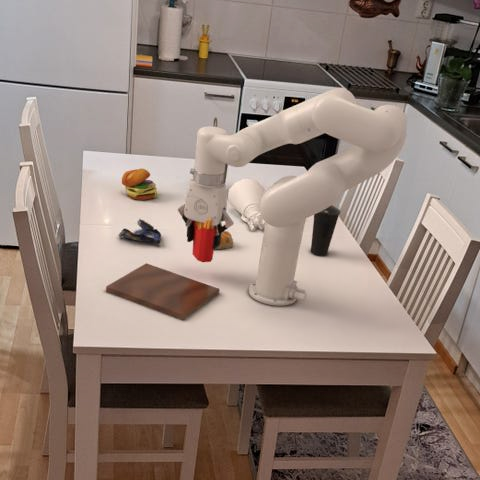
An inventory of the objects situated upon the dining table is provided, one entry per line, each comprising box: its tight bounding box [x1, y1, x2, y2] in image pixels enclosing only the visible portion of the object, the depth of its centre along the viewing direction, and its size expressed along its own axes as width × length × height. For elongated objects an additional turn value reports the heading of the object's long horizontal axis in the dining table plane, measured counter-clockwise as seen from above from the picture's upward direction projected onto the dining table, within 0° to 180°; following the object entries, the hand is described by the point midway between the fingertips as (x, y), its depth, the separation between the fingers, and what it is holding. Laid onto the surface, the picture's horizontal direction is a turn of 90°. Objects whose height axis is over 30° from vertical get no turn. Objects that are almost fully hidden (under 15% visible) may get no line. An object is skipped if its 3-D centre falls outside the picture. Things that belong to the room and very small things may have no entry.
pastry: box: [214, 230, 234, 250], centre depth 230 cm, size 9×7×4 cm
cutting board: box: [105, 263, 220, 321], centre depth 200 cm, size 22×18×2 cm
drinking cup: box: [310, 204, 341, 257], centre depth 232 cm, size 8×8×20 cm
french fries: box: [192, 217, 216, 263], centre depth 207 cm, size 9×4×13 cm, turn 22°
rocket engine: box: [227, 178, 266, 232], centre depth 250 cm, size 12×12×18 cm
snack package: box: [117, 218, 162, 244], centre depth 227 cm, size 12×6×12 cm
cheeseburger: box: [121, 167, 158, 201], centre depth 257 cm, size 10×11×10 cm
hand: (203, 243), depth 208 cm, fingers closed on french fries, 6 cm apart
